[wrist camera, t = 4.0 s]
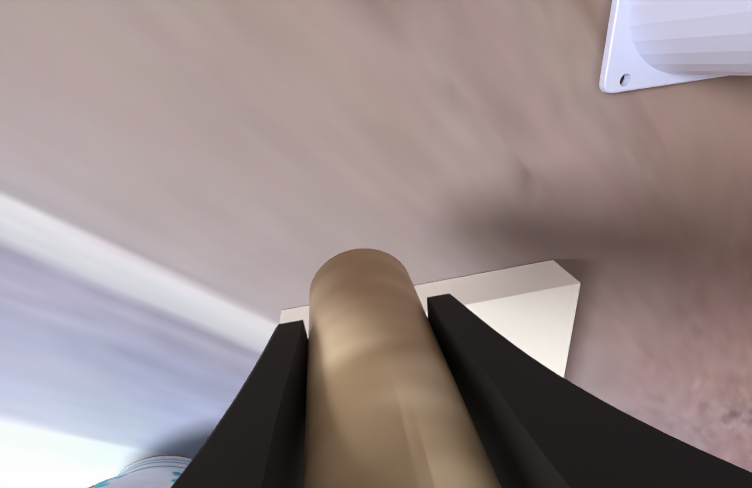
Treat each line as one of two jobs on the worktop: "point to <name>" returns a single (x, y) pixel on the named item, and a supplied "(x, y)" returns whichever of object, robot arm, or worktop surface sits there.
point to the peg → (382, 386)
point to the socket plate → (510, 307)
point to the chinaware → (149, 473)
